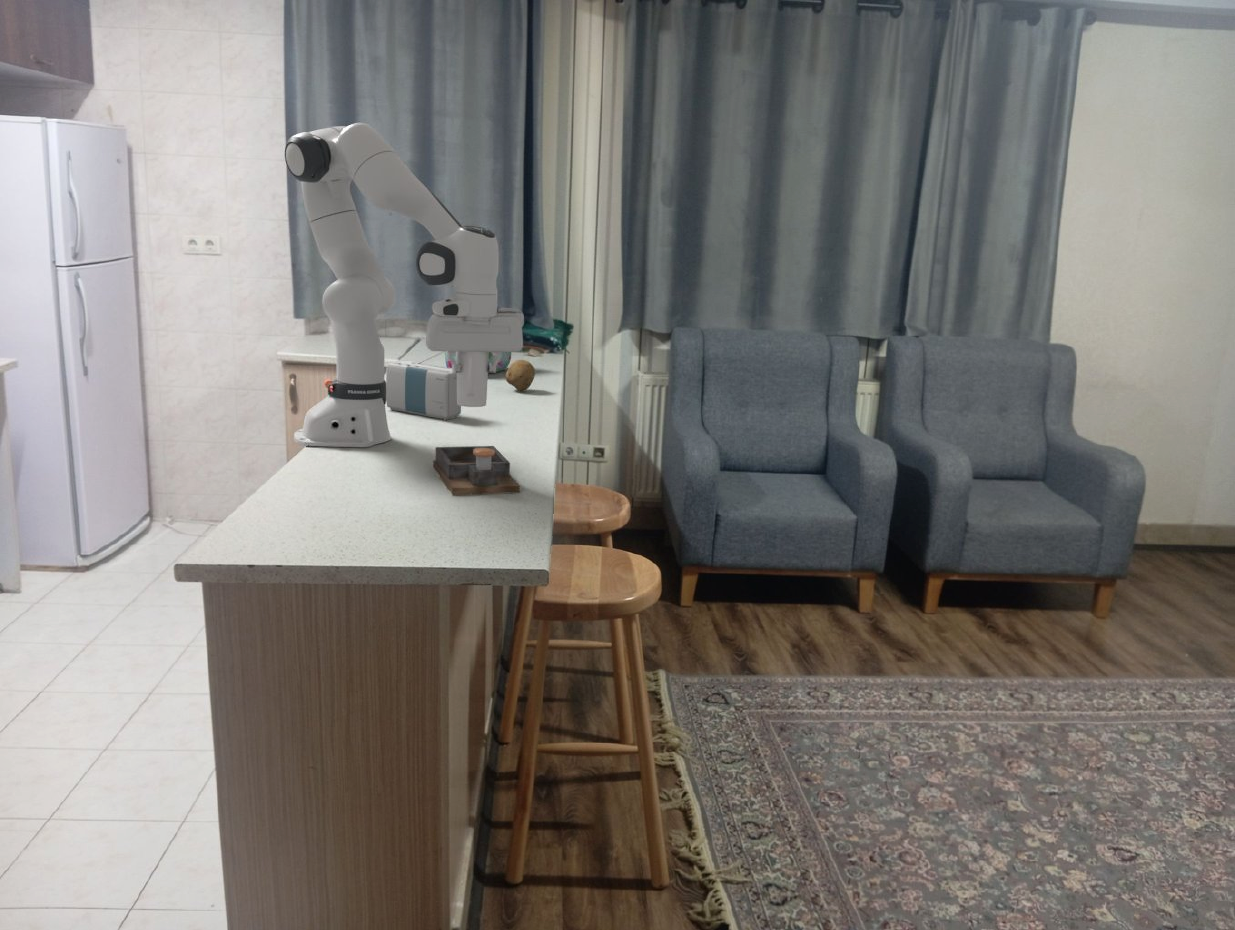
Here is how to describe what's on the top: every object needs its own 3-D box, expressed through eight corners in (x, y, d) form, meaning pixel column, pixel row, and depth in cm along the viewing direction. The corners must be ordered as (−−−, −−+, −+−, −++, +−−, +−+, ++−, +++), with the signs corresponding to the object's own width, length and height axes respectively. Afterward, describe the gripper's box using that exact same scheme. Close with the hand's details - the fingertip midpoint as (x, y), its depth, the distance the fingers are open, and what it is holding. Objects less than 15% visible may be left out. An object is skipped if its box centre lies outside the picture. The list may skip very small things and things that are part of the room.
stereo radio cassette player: (384, 410, 277) (384, 337, 272) (404, 406, 284) (404, 335, 279) (446, 422, 268) (447, 347, 263) (464, 417, 275) (466, 344, 270)
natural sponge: (504, 393, 312) (505, 361, 309) (506, 387, 320) (507, 356, 318) (533, 394, 312) (534, 362, 309) (534, 389, 321) (536, 358, 318)
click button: (475, 476, 206) (475, 453, 205) (470, 470, 210) (471, 447, 208) (496, 475, 207) (497, 452, 206) (491, 469, 211) (492, 447, 210)
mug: (457, 401, 220) (458, 346, 218) (488, 403, 220) (490, 348, 218) (452, 408, 210) (453, 351, 208) (484, 410, 210) (486, 352, 208)
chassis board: (452, 495, 204) (453, 473, 203) (433, 466, 224) (433, 447, 222) (519, 492, 209) (520, 471, 208) (494, 465, 229) (495, 445, 227)
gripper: (520, 306, 217) (517, 369, 220) (424, 303, 209) (423, 369, 213) (528, 309, 211) (525, 375, 214) (430, 307, 204) (429, 374, 207)
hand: (474, 372), depth 214 cm, fingers closed on mug, 6 cm apart
